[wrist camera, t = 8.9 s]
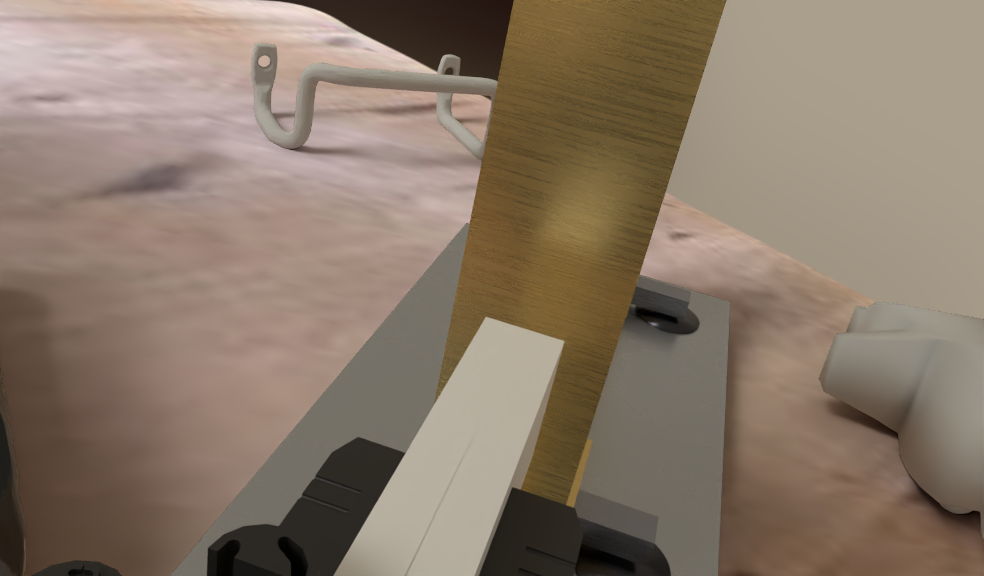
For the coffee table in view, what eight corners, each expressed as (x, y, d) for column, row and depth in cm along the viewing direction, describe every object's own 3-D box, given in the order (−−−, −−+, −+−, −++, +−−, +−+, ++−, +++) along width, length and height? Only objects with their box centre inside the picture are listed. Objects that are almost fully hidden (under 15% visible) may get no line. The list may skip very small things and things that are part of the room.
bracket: (447, 127, 54) (459, 48, 52) (502, 168, 48) (518, 81, 46) (247, 119, 48) (251, 29, 46) (281, 166, 42) (288, 65, 40)
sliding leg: (403, 518, 21) (528, -135, 14) (447, 437, 24) (568, -131, 17) (639, 603, 20) (905, -49, 13) (654, 507, 23) (875, -61, 16)
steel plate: (-172, 1040, 12) (-189, 1000, 11) (462, 246, 38) (467, 221, 37) (649, 1470, 10) (679, 1449, 9) (721, 325, 36) (730, 300, 35)
